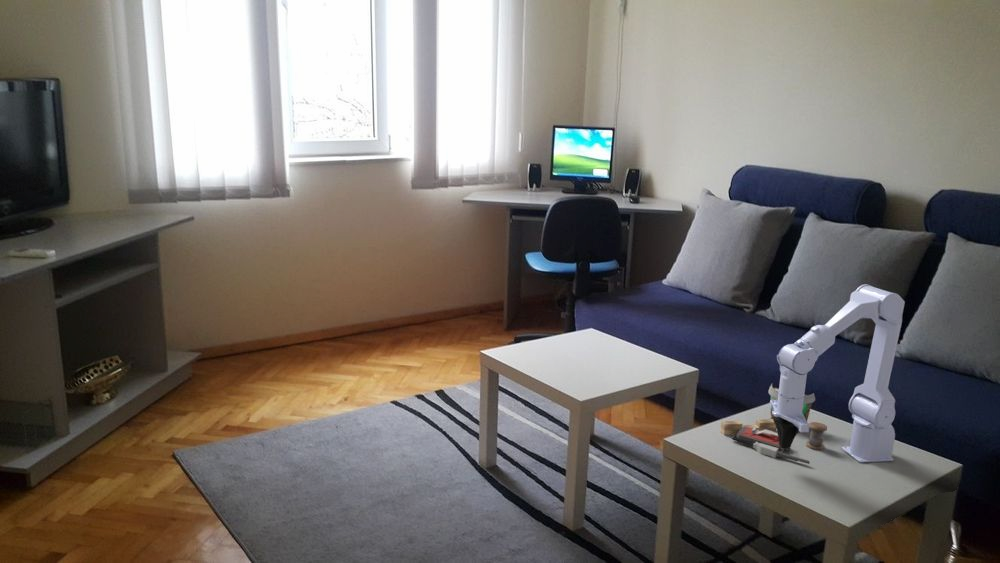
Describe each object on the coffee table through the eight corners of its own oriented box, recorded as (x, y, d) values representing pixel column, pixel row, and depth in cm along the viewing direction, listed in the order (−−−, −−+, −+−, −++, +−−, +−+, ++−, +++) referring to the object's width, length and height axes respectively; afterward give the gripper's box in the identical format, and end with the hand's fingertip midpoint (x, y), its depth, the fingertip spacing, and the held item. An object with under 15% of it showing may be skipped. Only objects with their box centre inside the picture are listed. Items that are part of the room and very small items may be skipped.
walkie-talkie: (728, 445, 199) (807, 469, 187) (729, 429, 198) (809, 453, 186) (740, 434, 206) (817, 456, 194) (742, 419, 205) (819, 440, 193)
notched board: (772, 429, 209) (773, 419, 208) (775, 432, 207) (777, 422, 206) (720, 431, 206) (721, 421, 205) (723, 434, 204) (724, 424, 203)
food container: (759, 423, 212) (763, 389, 210) (765, 416, 217) (770, 382, 215) (805, 435, 206) (810, 400, 203) (811, 427, 210) (816, 393, 208)
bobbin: (818, 442, 202) (820, 421, 200) (827, 449, 197) (830, 429, 196) (802, 443, 201) (805, 422, 199) (811, 450, 197) (814, 429, 195)
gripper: (760, 383, 189) (754, 434, 192) (791, 407, 175) (785, 462, 178) (787, 382, 190) (780, 433, 193) (820, 406, 176) (813, 460, 179)
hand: (784, 447), depth 186 cm, fingers closed
